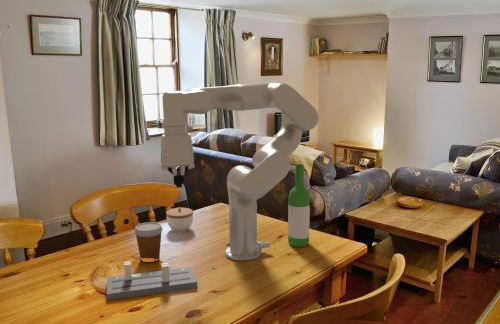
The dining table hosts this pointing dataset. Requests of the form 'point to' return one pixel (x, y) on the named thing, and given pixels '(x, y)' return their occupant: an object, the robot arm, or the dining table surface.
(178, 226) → the lidded jar
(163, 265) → the fader
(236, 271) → the dining table surface
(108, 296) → the console
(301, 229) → the wine bottle
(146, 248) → the disposable coffee cup
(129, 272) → the fader
